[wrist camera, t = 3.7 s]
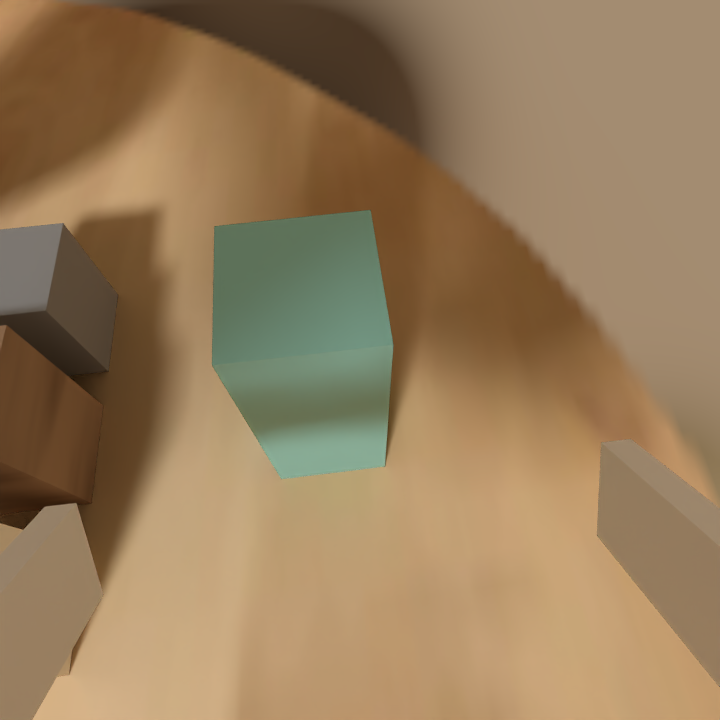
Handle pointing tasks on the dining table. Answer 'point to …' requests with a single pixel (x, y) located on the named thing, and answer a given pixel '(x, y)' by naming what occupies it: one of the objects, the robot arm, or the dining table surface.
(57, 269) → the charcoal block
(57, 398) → the walnut block
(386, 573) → the dining table surface
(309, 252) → the teal block
